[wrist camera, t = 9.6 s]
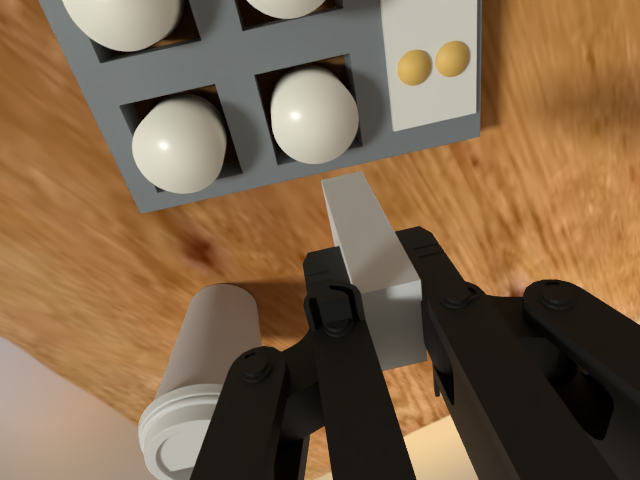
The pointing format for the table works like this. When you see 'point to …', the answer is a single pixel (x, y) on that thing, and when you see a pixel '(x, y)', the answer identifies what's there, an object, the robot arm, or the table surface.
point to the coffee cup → (196, 378)
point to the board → (281, 52)
